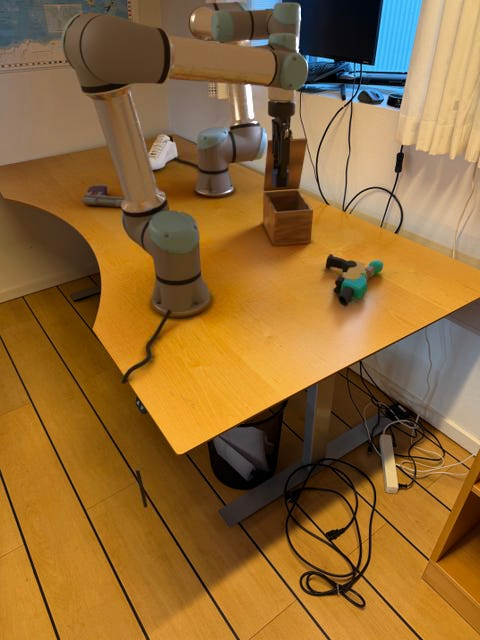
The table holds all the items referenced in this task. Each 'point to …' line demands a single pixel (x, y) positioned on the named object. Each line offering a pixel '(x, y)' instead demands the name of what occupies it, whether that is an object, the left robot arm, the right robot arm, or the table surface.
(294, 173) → the lid
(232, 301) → the table surface
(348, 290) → the toy gun
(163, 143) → the sneaker
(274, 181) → the block
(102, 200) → the toy gun
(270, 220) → the chest
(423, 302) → the table surface
